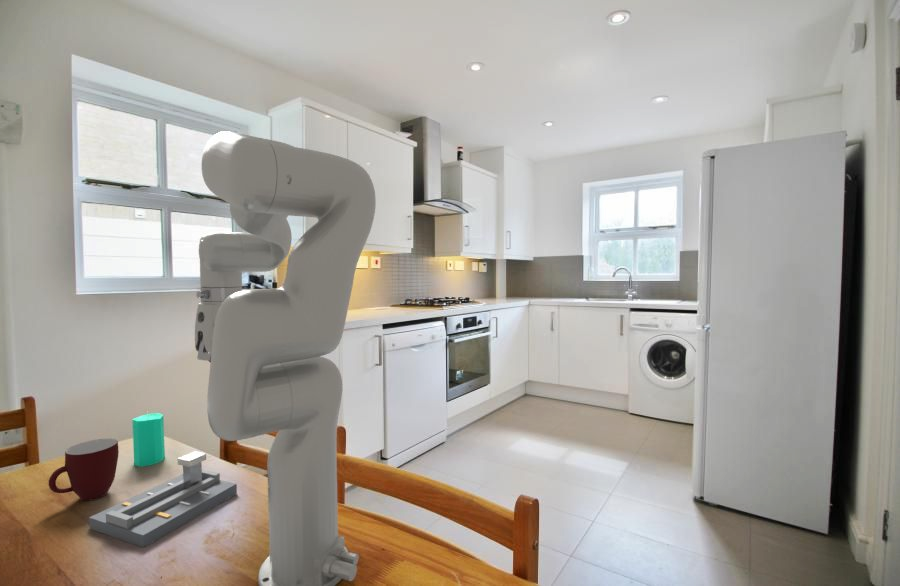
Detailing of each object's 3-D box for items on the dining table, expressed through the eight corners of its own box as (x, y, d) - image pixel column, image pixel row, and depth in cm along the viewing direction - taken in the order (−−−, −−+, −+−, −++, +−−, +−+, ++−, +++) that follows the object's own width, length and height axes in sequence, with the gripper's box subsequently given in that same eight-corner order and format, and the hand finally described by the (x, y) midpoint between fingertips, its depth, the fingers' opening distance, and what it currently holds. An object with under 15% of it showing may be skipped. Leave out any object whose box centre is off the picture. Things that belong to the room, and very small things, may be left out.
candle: (140, 468, 97) (138, 416, 96) (129, 462, 100) (127, 411, 99) (169, 459, 102) (167, 409, 101) (158, 453, 105) (156, 405, 105)
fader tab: (207, 482, 85) (206, 453, 85) (190, 491, 82) (189, 460, 82) (195, 479, 86) (194, 451, 86) (178, 488, 83) (177, 458, 83)
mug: (62, 517, 77) (59, 463, 77) (42, 506, 81) (40, 454, 81) (128, 491, 87) (126, 442, 86) (108, 482, 90) (106, 435, 90)
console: (236, 493, 85) (236, 476, 85) (143, 547, 69) (142, 526, 69) (187, 481, 91) (186, 465, 90) (89, 528, 74) (88, 508, 74)
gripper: (201, 299, 79) (204, 396, 80) (264, 294, 93) (265, 377, 94) (173, 297, 82) (176, 391, 83) (238, 292, 96) (239, 373, 97)
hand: (223, 383), depth 89 cm, fingers closed
